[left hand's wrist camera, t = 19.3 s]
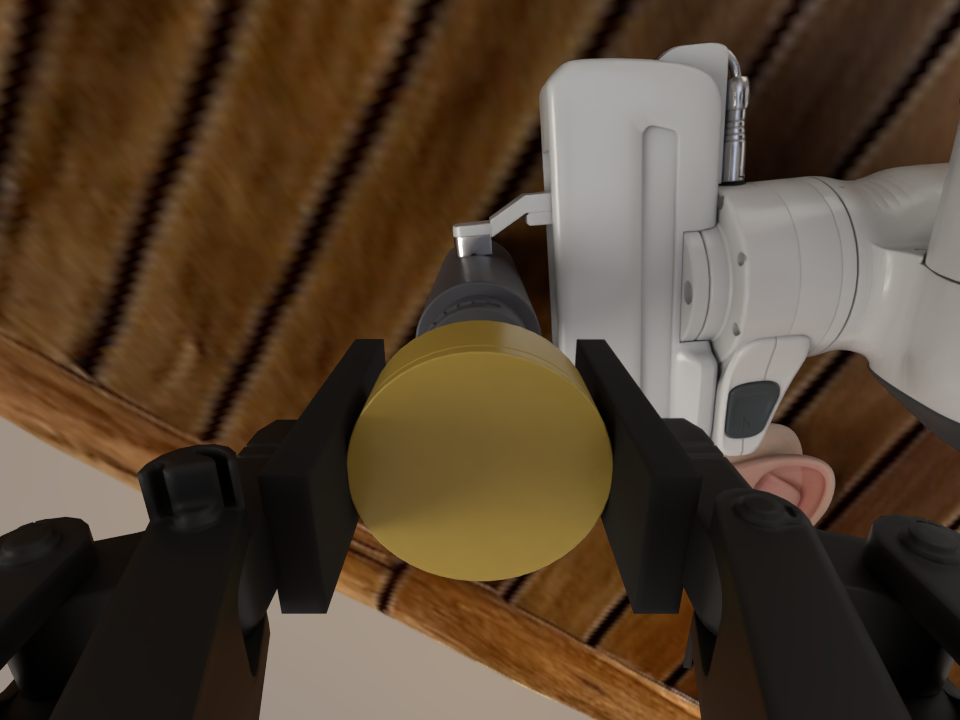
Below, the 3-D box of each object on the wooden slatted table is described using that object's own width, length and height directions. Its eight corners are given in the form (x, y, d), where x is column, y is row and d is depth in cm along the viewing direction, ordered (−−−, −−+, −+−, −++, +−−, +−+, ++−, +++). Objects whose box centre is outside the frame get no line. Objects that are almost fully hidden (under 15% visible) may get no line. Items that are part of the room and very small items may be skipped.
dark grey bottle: (440, 237, 31) (406, 291, 17) (517, 238, 31) (551, 292, 17) (441, 312, 33) (411, 422, 18) (515, 313, 33) (544, 423, 18)
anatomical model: (619, 593, 35) (644, 445, 31) (606, 553, 39) (626, 417, 35) (810, 598, 35) (857, 452, 32) (778, 558, 39) (817, 423, 35)
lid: (526, 548, 13) (534, 613, 11) (334, 471, 12) (307, 527, 10) (635, 380, 12) (666, 423, 10) (423, 278, 11) (410, 303, 9)
